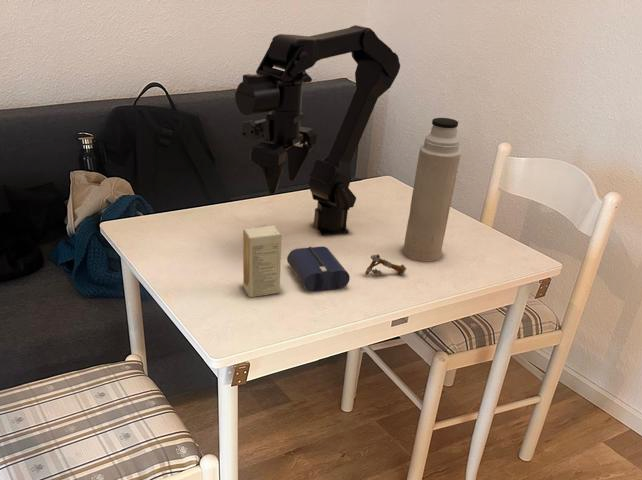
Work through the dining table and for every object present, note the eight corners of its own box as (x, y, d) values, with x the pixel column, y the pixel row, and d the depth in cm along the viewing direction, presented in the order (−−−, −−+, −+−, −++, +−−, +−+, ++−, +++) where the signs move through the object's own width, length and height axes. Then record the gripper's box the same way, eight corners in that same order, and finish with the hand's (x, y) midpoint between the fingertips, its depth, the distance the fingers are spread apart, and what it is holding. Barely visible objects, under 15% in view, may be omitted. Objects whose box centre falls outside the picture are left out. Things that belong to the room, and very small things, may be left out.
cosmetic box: (273, 283, 131) (275, 224, 124) (280, 293, 127) (283, 233, 120) (241, 287, 129) (242, 227, 122) (247, 297, 126) (249, 237, 119)
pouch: (329, 263, 139) (330, 244, 137) (348, 288, 130) (351, 268, 128) (286, 267, 137) (287, 247, 134) (303, 292, 128) (305, 272, 126)
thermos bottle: (440, 248, 147) (466, 116, 132) (440, 263, 141) (467, 127, 125) (403, 243, 149) (425, 112, 133) (402, 259, 142) (424, 123, 126)
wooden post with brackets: (360, 270, 135) (371, 250, 133) (392, 282, 138) (403, 263, 136) (363, 274, 133) (374, 254, 131) (395, 286, 137) (407, 267, 135)
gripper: (270, 92, 139) (268, 167, 148) (225, 111, 125) (225, 192, 134) (320, 100, 135) (314, 176, 144) (279, 121, 121) (275, 204, 130)
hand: (282, 186), depth 138 cm, fingers open, 9 cm apart
